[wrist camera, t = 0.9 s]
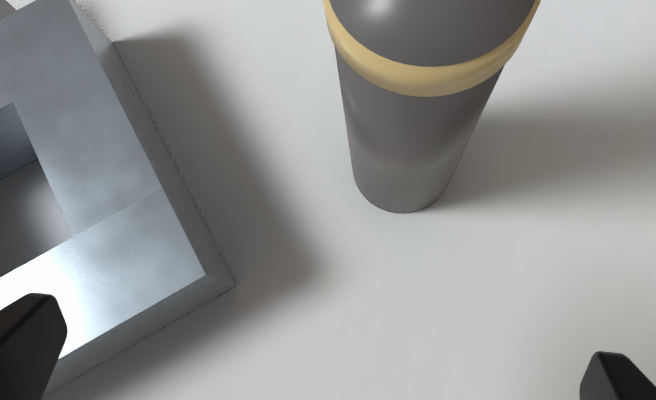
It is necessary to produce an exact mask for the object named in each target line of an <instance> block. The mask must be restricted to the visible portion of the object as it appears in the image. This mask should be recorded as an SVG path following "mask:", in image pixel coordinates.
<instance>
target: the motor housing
mask: <svg viewBox="0 0 656 400" xmlns="http://www.w3.org/2000/svg"><path fill="white" fill-rule="evenodd" d="M37 159H38V160H39V162H40V164H41V166H42V169H43V171H44V173H45V176H46V178H47V180H48V182H49V185H50V187H51V189H52V191H53V194H54V196H55V198H56V201H57V203H58V205H59V207H60V210H61V212H62V214H63V217H64V219H65V221H66V223H67V226H68V228H69V230H70V232H71V235H72V238H70V239H69V240H67V241H65V242H63V243H61V244H60V245H58V246H56V247H54V248H53V249H51V250H49V251H47V252H45V253H44V254H42V255H40V256H38V257H36V258H35V259H33V260H31V261H29V262H28V263H26V264H24V265H22V266H20V267H19V268H17V269H15V270H13V271H11V272H10V273H8V274H6V275H4V276H3V277H1V278H0V310H1V309H2V308H4V307H6V306H7V305H9V304H10V303H12V302H14V301H15V300H17V299H19V298H20V297H22V296H24V295H26V294H28V293H43V294H51V295H53V296H54V297H55V298H56V299H57V301H58V304H59V306H60V309H61V311H62V314H63V316H64V319H65V321H66V324H67V328H68V333H67V339H66V342H65V344H64V346H63V349H62V351H61V354H60V356H59V359H58V361H57V363H56V366H55V368H54V371H53V373H52V376H51V378H50V380H49V383H48V385H47V388H46V390H45V393H44V395H46V394H48V393H50V392H51V391H53V390H55V389H57V388H58V387H60V386H62V385H64V384H65V383H67V382H69V381H71V380H72V379H74V378H76V377H78V376H79V375H81V374H83V373H85V372H86V371H88V370H90V369H91V368H93V367H95V366H97V365H98V364H100V363H102V362H104V361H105V360H107V359H109V358H111V357H112V356H114V355H116V354H118V353H119V352H121V351H123V350H125V349H126V348H128V347H130V346H132V345H133V344H135V343H137V342H139V341H140V340H142V339H144V338H146V337H147V336H149V335H151V334H153V333H154V332H156V331H158V330H160V329H161V328H163V327H165V326H166V325H168V324H170V323H172V322H173V321H175V320H177V319H179V318H180V317H182V316H184V315H186V314H187V313H189V312H191V311H193V310H194V309H196V308H198V307H200V306H201V305H203V304H205V303H207V302H208V301H210V300H212V299H214V298H215V297H217V296H219V295H221V294H222V293H224V292H226V291H228V290H229V289H231V288H233V287H235V286H236V283H235V281H234V279H233V277H232V275H231V273H230V271H229V269H228V267H227V265H226V263H225V261H224V259H223V257H222V255H221V253H220V251H219V249H218V248H217V246H216V244H215V242H214V240H213V238H212V236H211V234H210V232H209V230H208V228H207V226H206V224H205V222H204V220H203V218H202V216H201V214H200V212H199V210H198V209H197V207H196V205H195V203H194V201H193V199H192V197H191V195H190V193H189V191H188V189H187V187H186V185H185V183H184V181H183V179H182V177H181V175H180V173H179V171H178V169H177V168H176V166H175V164H174V162H173V160H172V158H171V156H170V154H169V152H168V150H167V148H166V146H165V144H164V142H163V140H162V138H161V136H160V134H159V132H158V130H157V129H156V127H155V125H154V123H153V121H152V119H151V117H150V115H149V113H148V111H147V109H146V107H145V105H144V103H143V101H142V99H141V97H140V95H139V93H138V91H137V89H136V88H135V86H134V84H133V82H132V80H131V78H130V76H129V74H128V72H127V70H126V68H125V66H124V64H123V62H122V60H121V58H120V56H119V54H118V52H117V50H116V49H115V47H114V45H113V43H112V41H111V40H110V39H109V38H108V37H107V35H106V34H105V33H104V32H103V31H102V30H101V29H100V28H99V27H98V26H97V24H96V23H95V22H94V21H93V20H92V19H91V18H90V17H89V16H88V15H87V13H86V12H85V11H84V10H83V9H82V8H81V7H80V6H79V5H78V4H77V2H76V1H75V0H36V1H34V2H32V3H30V4H28V5H26V6H25V7H23V8H21V9H19V10H16V9H15V8H14V7H12V6H11V5H10V4H9V3H8V2H7V1H6V0H0V180H1V179H3V178H4V177H6V176H8V175H10V174H12V173H13V172H15V171H17V170H19V169H21V168H22V167H24V166H26V165H28V164H30V163H31V162H33V161H35V160H37ZM44 395H43V396H44Z"/></svg>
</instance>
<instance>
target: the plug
mask: <svg viewBox="0 0 656 400" xmlns="http://www.w3.org/2000/svg"><path fill="white" fill-rule="evenodd" d="M540 1H541V0H323V2H324V8H325V15H326V20H327V25H328V30H329V33H330V36H331V38H332V41H333V43H334V46H335V52H336V59H337V66H338V73H339V80H340V86H341V93H342V100H343V107H344V114H345V120H346V127H347V134H348V141H349V148H350V155H351V161H352V168H353V174H354V179H355V182H356V184H357V186H358V188H359V190H360V192H361V193H362V194H363V196H364V197H365V198H366V199H367V200H368V201H369V202H371V203H372V204H373V205H375V206H376V207H378V208H380V209H382V210H385V211H388V212H393V213H412V212H416V211H419V210H422V209H424V208H426V207H428V206H429V205H431V204H432V203H434V202H435V201H436V200H437V199H438V198H439V197H440V196H441V195H442V193H443V192H444V190H445V188H446V186H447V184H448V182H449V180H450V178H451V176H452V174H453V172H454V170H455V168H456V166H457V163H458V161H459V159H460V157H461V155H462V153H463V151H464V149H465V147H466V145H467V143H468V140H469V138H470V136H471V134H472V132H473V130H474V128H475V126H476V124H477V122H478V120H479V117H480V115H481V113H482V111H483V109H484V107H485V105H486V103H487V101H488V99H489V97H490V95H491V92H492V90H493V88H494V86H495V84H496V82H497V80H498V78H499V76H500V74H501V72H502V69H503V67H504V65H505V64H506V63H507V62H508V60H509V59H510V58H511V57H512V56H513V54H514V53H515V51H516V50H517V48H518V47H519V45H520V43H521V41H522V39H523V37H524V35H525V33H526V31H527V29H528V27H529V25H530V22H531V20H532V18H533V16H534V14H535V12H536V10H537V8H538V6H539V4H540Z"/></svg>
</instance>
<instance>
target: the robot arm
mask: <svg viewBox="0 0 656 400" xmlns="http://www.w3.org/2000/svg"><path fill="white" fill-rule="evenodd" d="M67 333H68V328H67V324H66V321H65V319H64V316H63V314H62V311H61V309H60V306H59V304H58V301H57V299H56V298H55V297H54V296H53V295H51V294H43V293H28V294H26V295H24V296H22V297H20V298H19V299H17V300H15V301H14V302H12V303H10V304H9V305H7V306H6V307H4V308H2V309H1V310H0V400H42V397H43V395H44V393H45V390H46V388H47V385H48V383H49V380H50V378H51V376H52V373H53V371H54V368H55V366H56V363H57V361H58V359H59V356H60V354H61V351H62V349H63V346H64V344H65V342H66V339H67ZM580 400H656V387H655V386H654V384H653V383H652V382H651V381H650V380H649V379H648V378H647V377H646V376H645V375H644V374H643V373H642V372H641V371H640V370H639V369H638V368H637V367H636V366H635V364H634V363H633V362H632V361H631V360H630V359H629V358H628V357H626V356H625V355H623V354H620V353H613V352H603V351H598V352H596V353H594V354H593V356H592V358H591V360H590V363H589V365H588V367H587V370H586V372H585V374H584V377H583V379H582V381H581V384H580Z"/></svg>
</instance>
